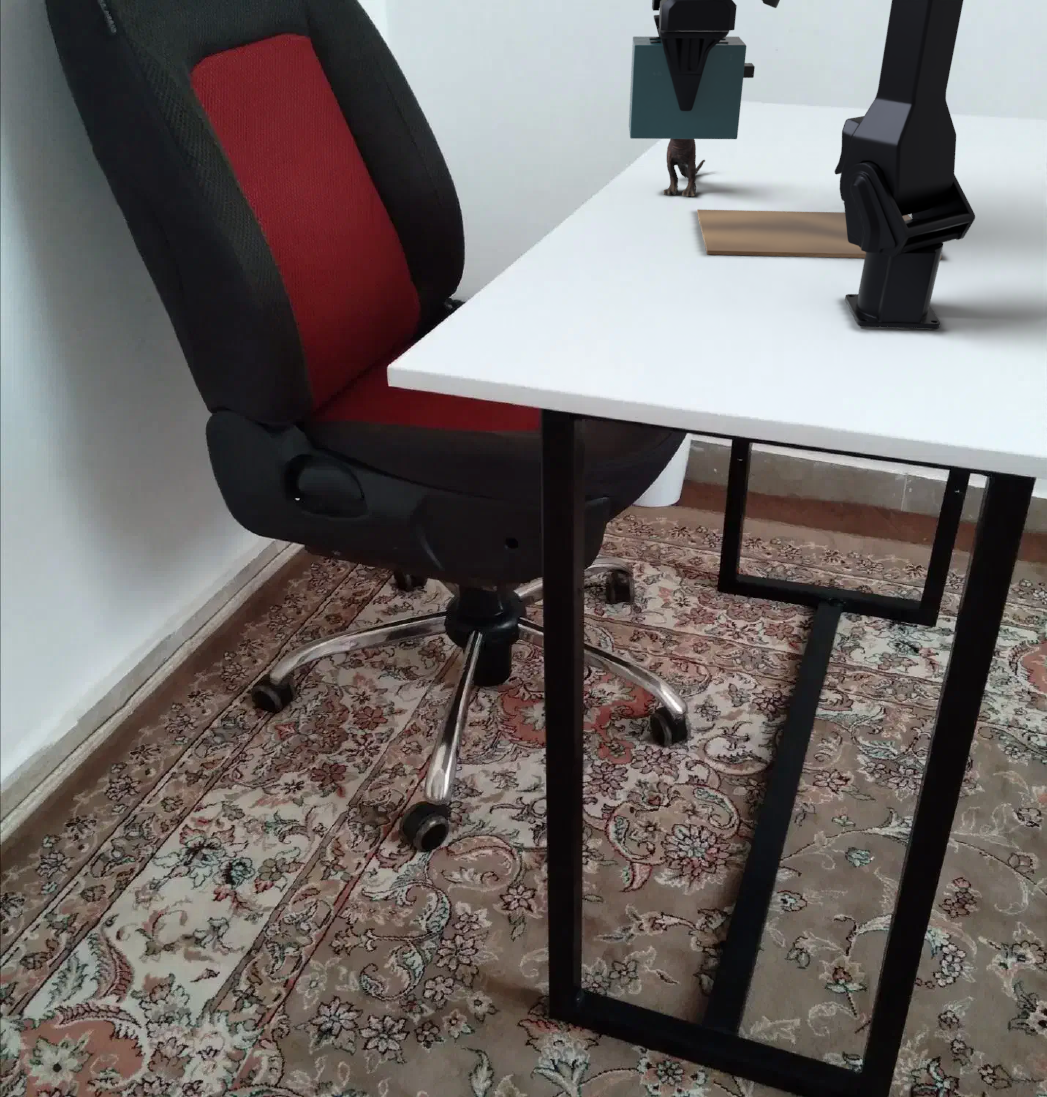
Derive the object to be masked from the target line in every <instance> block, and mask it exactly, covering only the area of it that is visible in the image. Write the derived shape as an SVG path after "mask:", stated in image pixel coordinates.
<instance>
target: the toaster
mask: <svg viewBox="0 0 1047 1097" xmlns="http://www.w3.org/2000/svg"><path fill="white" fill-rule="evenodd" d="M631 46H632V47H631V68H630V70H631V71H630V92H629V111H628V113H629V114H628V130H629V138H630V139H632V140H634V139H636V140H643V139H645V140H651V139H652V140H670V139H694V140H738V134H739V124H740V113H741V104H742V95H743V94H742V93H743V84H744V79H753V78H754V77H755V68H756V66H755V65H754V64H753V63H752V62H746V57H747V56H746V53H747V45H746V43H745V42H744V41H743V40H742V39H741V37H740V36H726V37H725V38H723V39H721V40H720V41H719V42H718V43H717V44H716V45H715V46H714V47H713V48H712V49H711V50H710V51H709V53H708V57H707V60H706V63H705V67H704V70H703V73H702V77H701V80H700V84H699V87H698V91H697V94H696V98H695V101H694V105H693V108H692V110H691V111H681V110H680V108H679V105H678V101H677V97H676V93H675V90H674V86H673V82H672V79H671V75H670V71H669V67H668V64H667V60H666V56H665V53H664V49H663V45H662V42H661V38H660V37H659V36H632V45H631Z"/></svg>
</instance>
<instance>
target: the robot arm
mask: <svg viewBox="0 0 1047 1097" xmlns="http://www.w3.org/2000/svg"><path fill="white" fill-rule="evenodd" d="M761 1H762V3H763V4H764V5H767V6H769V7H771V8H773V9H777V8H778V6H779V3H780V0H761ZM963 4H964V0H891V3H890V9H889V16H888V23H887V28H886V36H885V42H884V48H883V54H882V60H881V61H882V62H881V67H880V73H879V80H878V87H877V91H876V95H875V97H874V100H873V101H872V103H871V104H870V106H869V108H868V109H867V111H866V112H865V114H864V115H861V116H857V117H856V116H855V117H851V118H849V117H848V118H847V119H845V121H844V124H843V127H842V130H841V148H840V149H841V150H840V156H839V160H838V163H837V165H836V167H835V169H834V174H835V175H840V177H839V195H840V199H841V201H843V207H844V212H845V217H846V227H847V237H848V242H849V243H851V244H854V245H857V246H859V247H860V248H861V250H862V251H865V252H866V255H865V258H864V261H863V265H862V266H863V267H862V271H861V277H860V282H859V288H858V291H857V293H855V294H854V293H847V294H845V296H844V302H845V304H846V306H847V307H848V309H849V311H850V314H851V315H852V317H853V319H854V321H855V323H856V325H857V326H858V327H860V328H885V329H888V328H889V329H890V328H891V329H920V330H921V329H923V330H925V329H926V330H938V329H940V327H941V323H942V322H941V320H940V319H939V318H938V316H937V315H936V313H935V311H934V310H933V309H932V308H931V302H932V297H933V293H934V288H935V284H936V278H937V275H938V271H939V265H940V261H941V260H940V257H941V255H942V253H943V248H944V243H947V242H951V241H955V240H957V241H959V240H962V239H964V238H965V237H966V235H967V234H968V231H969V230H970V228H971V226H972V225H973V223H974V221H975V219H976V214H975V212H974V210H973V207H972V206H971V204H970V202H969V200H968V198H967V197H966V194H965V192H964V190H963V189H962V186H961V184H960V183H959V181H958V178H957V176H956V175H955V169H956V168H955V166H956V148H957V133H956V129H955V126H954V122H953V119H952V115H951V112H950V109H949V105H948V102H947V90H948V84H949V78H950V74H951V67H952V63H953V57H954V52H955V47H956V41H957V37H958V31H959V26H960V20H961V16H962V11H963ZM737 8H738V5H737V4H736V2H735V1H734V0H652V1H651V10H652V12H653V11H655V12H657V11H658V12H659V14H654V15H653V21H654V23H655V28H656V31H657V35H658V37H660V38H661V42H662V45H663V49H664V53H665V56H666V60H667V64H668V67H669V71H670V75H671V79H672V82H673V86H674V90H675V93H676V97H677V101H678V105H679V108H680V110H681V111H691V110H692V108H693V105H694V101H695V98H696V94H697V91H698V87H699V84H700V80H701V77H702V73H703V70H704V67H705V63H706V60H707V57H708V53H709V51H710V50H711V49H712V48H713V47H714V46H715V45H716V44H717V43H718V42H719V41H720V40H721V39H723V38H725V37H728V36H729V33H730V32H731V31H735V29H736V18H737ZM905 215H908V216H910V215H911V219H910V220H906V221H904V219H903V217H902V216H905ZM941 258H942V257H941Z"/></svg>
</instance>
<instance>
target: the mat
mask: <svg viewBox="0 0 1047 1097" xmlns="http://www.w3.org/2000/svg"><path fill="white" fill-rule="evenodd" d="M696 214H697V219H698V223H699V227H700V230H701V235H702V239H703V245H704V249H705V252H706V255H714V256H715V255H717V256H721V255H722V256H755V257H757V256H759V257H761V256H762V257H801V258H802V257H805V258H846V259H847V258H848V259H850V258H853V259H865V255H866V252H865V251H862V250H861V248H860V247H859V246H857V245H854V244H851V243H849V242H848V237H847V227H846V217H845V211H844V212H843V211H841V212H840V211H796V210H795V211H787V210H785V211H784V210H739V209H730V210H729V209H728V210H727V209H697V210H696ZM902 217H903V219H904V221H906V220H910V219H912V217H910V215H905V216H902ZM942 257H943V256H942V254H941V257H940V261H941V260H942Z"/></svg>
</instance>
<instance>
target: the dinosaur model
mask: <svg viewBox="0 0 1047 1097" xmlns="http://www.w3.org/2000/svg"><path fill="white" fill-rule="evenodd" d="M666 148H667V149H666V167H667V171H668V175H669V181H670V183H669V187H668V188H665V189H664V190H663V195H666V196H667V195H668V196H672V195H674V196H676V194H677V193H679V177H678V173H677V171H676V168H675V166H677V168H678V170H679V173H680V174H681V176H682V177H684V178H685V179H686V178H687V185H686V188H685V189H683V191H682V193H681V196H682V197H683V196H684V197H685V196H686V197H695V196H696V194H697V183H696V177H697V176H696V175H697V174H698V172H699V171H700V169H701V168H702V167H703V165H704V163H706V159H702V160H701V161H700V163H698V164H696V159H697V151H696V150H697V146H696V139H669V141H668V145H667V147H666Z"/></svg>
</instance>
